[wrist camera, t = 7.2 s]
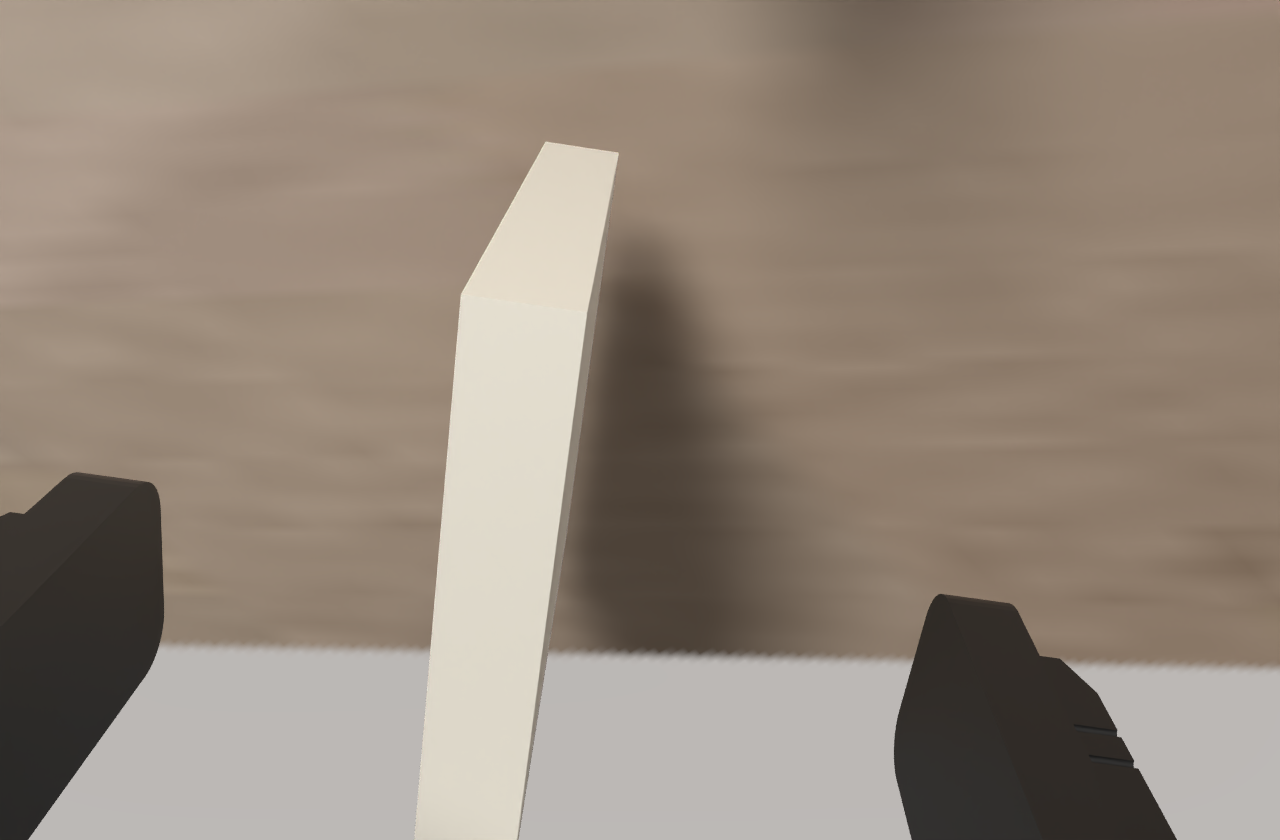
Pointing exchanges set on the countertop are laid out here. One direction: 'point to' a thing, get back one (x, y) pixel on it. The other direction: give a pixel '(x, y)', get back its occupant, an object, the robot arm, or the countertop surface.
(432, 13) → the countertop surface
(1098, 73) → the countertop surface
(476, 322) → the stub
